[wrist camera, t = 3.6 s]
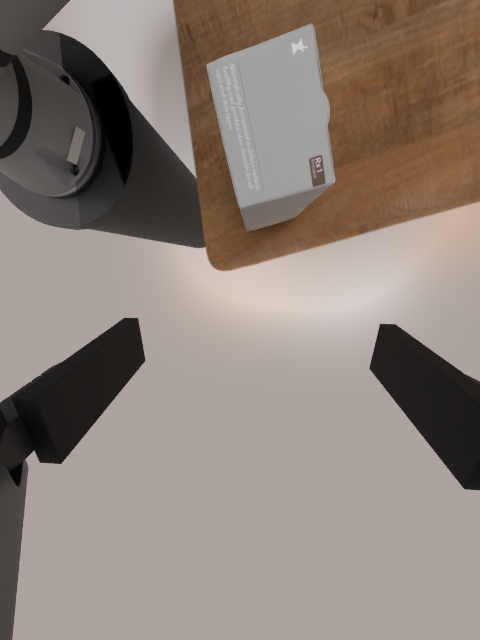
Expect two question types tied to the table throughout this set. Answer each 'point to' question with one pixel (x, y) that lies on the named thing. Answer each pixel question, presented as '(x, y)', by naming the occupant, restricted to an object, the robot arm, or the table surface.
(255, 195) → the cosmetic box
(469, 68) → the table surface
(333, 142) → the table surface
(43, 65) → the robot arm
